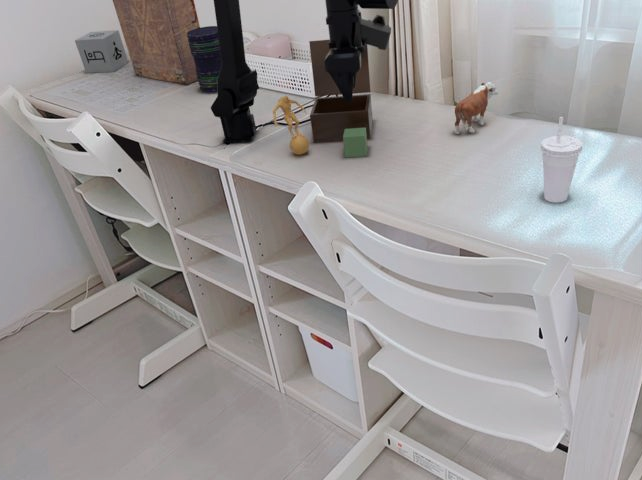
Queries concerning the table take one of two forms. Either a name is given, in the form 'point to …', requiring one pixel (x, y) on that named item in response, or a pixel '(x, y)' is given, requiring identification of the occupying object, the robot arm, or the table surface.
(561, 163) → the smoothie
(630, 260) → the table surface
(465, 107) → the bull figurine
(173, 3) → the book
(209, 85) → the storage jar
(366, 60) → the lid
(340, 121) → the box
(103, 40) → the icon cube
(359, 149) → the block
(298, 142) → the figurine
